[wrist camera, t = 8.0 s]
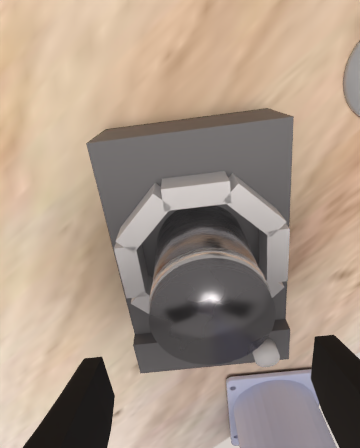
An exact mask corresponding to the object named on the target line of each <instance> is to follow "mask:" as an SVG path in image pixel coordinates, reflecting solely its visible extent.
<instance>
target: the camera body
mask: <svg viewBox="0 0 360 448" xmlns="http://www.w3.org/2000/svg"><path fill="white" fill-rule="evenodd" d="M292 141H293V116H290V115H287V114H284V113H280V112H277V111H274V110H271V109H268V108H266V109H259V110H251V111H243V112H236V113H228V114H220V115H213V116H205V117H197V118H190V119H182V120H175V121H167V122H159V123H152V124H144V125H136V126H129V127H121V128H113V129H106V130H104V131H103V132H101V133H100V134H99V135H97V136H96V137H95V138H93V139H92V140H90V141H89V142H88V143H86V144H87V148H88V152H89V156H90V160H91V164H92V167H93V171H94V175H95V179H96V183H97V187H98V191H99V195H100V199H101V203H102V207H103V211H104V215H105V219H106V223H107V227H108V230H109V234H110V238H111V242H112V246H113V250H114V254H115V258H116V262H117V266H118V270H119V274H120V278H121V282H122V286H123V289H124V293H125V297H126V301H127V305H128V309H129V313H130V317H131V321H132V325H133V329H134V333H135V337H134V344H133V346H134V350H135V354H136V357H137V361H138V365H139V369H140V373H149V372H159V371H169V370H180V369H190V368H200V367H211V366H221V365H231V364H242V363H252V362H256V364H257V365H259V366H261V367H271V366H273V365H275V364H276V363H277V362H278V361H279V360H283V359H289V342H290V328H289V326H288V324H287V321H286V319H285V318H286V293H287V281H288V261H289V237H290V228H289V217H290V192H291V166H292ZM213 205H216V206H219V207H222V208H224V209H225V210H227V211H228V212H230V213H231V214H232V215H233V216H234V217H235V218H236V219H237V221H238V222H239V224H240V226H241V228H242V231H243V233H244V235H245V238H246V240H247V242H248V244H249V247H250V249H251V251H252V253H253V256H254V258H255V260H256V263H257V265H258V267H259V269H260V270H261V272H262V273H263V275H264V277H265V280H266V282H267V284H268V286H269V289H270V292H271V296H272V299H273V301H274V305H275V312H276V316H275V322H274V326H273V329H272V331H271V333H270V334H269V336H268V338H267V339H266V340H265V341H264V342H263V344H262V345H260V346H259V347H258V348H257V349H256V350H254V351H253V352H252V353H250V354H248V355H246V356H245V357H242V358H240V359H238V360H235V361H232V362H228V363H223V364H215V365H201V364H194V363H190V362H186V361H183V360H180V359H178V358H176V357H174V356H172V355H170V354H169V353H167V352H166V351H165V350H164V349H162V347H161V346H160V345H159V344H158V343H157V342H156V340H155V339H154V337H153V335H152V333H151V329H150V325H149V300H150V292H151V287H152V284H153V276H154V267H155V259H156V250H157V241H158V234H159V231H160V228H161V226H162V225H163V223H164V222H165V220H166V219H167V218H168V217H169V216H170V215H171V214H172V213H174V212H175V211H177V210H179V209H187V208H196V207H204V206H213Z"/></svg>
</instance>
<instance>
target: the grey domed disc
mask: <svg viewBox="0 0 360 448" xmlns="http://www.w3.org/2000/svg"><path fill="white" fill-rule="evenodd" d="M343 89H344V95H345V98H346V101H347V103H348V105H349V107H350V108H351V110H352V111H353V112H354V113H355V114H356V115H358V116H359V117H360V41H359V42H358V43H357V45H356V46H355V48H354V49H353V51H352V53H351V55H350V57H349V59H348V62H347V65H346V68H345V72H344V78H343Z"/></svg>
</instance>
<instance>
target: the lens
mask: <svg viewBox="0 0 360 448" xmlns="http://www.w3.org/2000/svg"><path fill="white" fill-rule="evenodd" d="M275 316H276V312H275V305H274V301H273V299H272V296H271V292H270V289H269V286H268V284H267V282H266V280H265V277H264V275H263V273H262V272H261V270H260V269H259V267H258V265H257V263H256V260H255V258H254V256H253V253H252V251H251V249H250V247H249V244H248V242H247V240H246V238H245V235H244V233H243V231H242V228H241V226H240V224H239V222H238V221H237V219H236V218H235V217H234V216H233V215H232V214H231V213H230V212H228V211H227V210H225V209H224V208H222V207H219V206H216V205H213V206H204V207H196V208H187V209H179V210H177V211H175V212H174V213H172V214H171V215H170V216H169V217H168V218H167V219H166V220H165V222H164V223H163V225H162V226H161V228H160V231H159V234H158V241H157V250H156V259H155V267H154V276H153V284H152V287H151V292H150V300H149V325H150V329H151V333H152V335H153V337H154V339H155V340H156V342H157V343H158V344H159V345H160V346H161V347H162V349H164V350H165V351H166V352H167V353H169V354H170V355H172V356H174V357H176V358H178V359H180V360H183V361H186V362H190V363H194V364H201V365H215V364H223V363H228V362H232V361H235V360H238V359H240V358H242V357H245V356H246V355H248V354H250V353H252V352H253V351H254V350H256V349H257V348H258V347H259V346H260V345H262V344H263V342H264V341H265V340H266V339H267V338H268V336H269V334H270V333H271V331H272V329H273V326H274V322H275Z"/></svg>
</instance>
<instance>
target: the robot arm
mask: <svg viewBox="0 0 360 448" xmlns="http://www.w3.org/2000/svg"><path fill="white" fill-rule="evenodd" d="M226 387H227V399H228V411H229V423H230V435H231V443H232V444H233V445H235V446H240V448H336V446H335V443H334V441H333V438H332V436H331V434H330V432H329V430H328V427H327V425H326V422H325V420H324V418H323V416H322V413H321V411H320V409H319V404H320V406H321V409H322V411H323V414H324V416H325V418H326V420H327V422H328V424H329V426H330V428H331V431H332V433H333V435H334V437H335V439H336V441H337V443H338V445H339V447H340V448H360V359H359V358H358V357H356V355H355V354H353V353H352V352H351V351H350V350H349V349H348V348H347V347H346V346H345V345H344V344H343V343H342V342H341V341H340V340H339V339H338V338H337V337H336V336H334V335H328V336H317V337H315V341H314V351H313V361H312V369H307V370H297V371H286V372H276V373H265V374H255V375H244V376H234V377H229V378H227V380H226ZM114 397H115V396H114V393H113V390H112V386H111V383H110V380H109V377H108V374H107V371H106V368H105V365H104V362H103V359H102V357H96V358H85V359H84V360H83V361H82V362H81V364H80V365H79V367H78V368H77V370H76V372H75V373H74V375H73V376H72V378H71V379H70V381H69V382H68V384H67V385H66V387H65V388H64V390H63V391H62V393H61V394H60V396H59V397H58V399H57V400H56V402H55V403H54V405H53V406H52V408H51V409H50V411H49V412H48V413H47V415H46V416H45V418H44V419H43V421H42V422H41V423H40V425H39V426H38V428H37V429H36V430H35V432H34V433H33V434H32V436H31V437H30V438H29V440H28V441H27V442H26V444H25V445H24V446H23V448H107V446H108V441H109V436H110V431H111V424H112V416H113V407H114Z"/></svg>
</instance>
